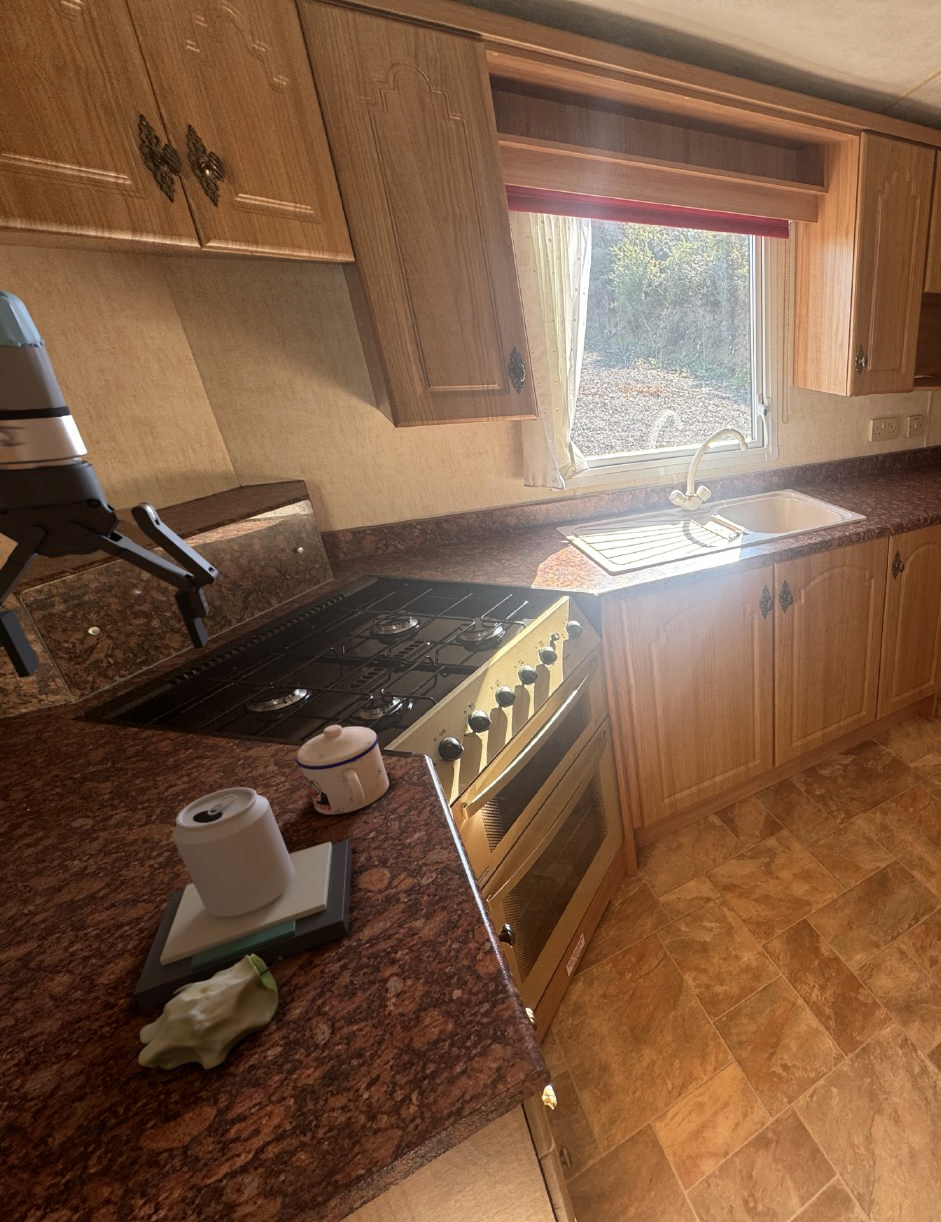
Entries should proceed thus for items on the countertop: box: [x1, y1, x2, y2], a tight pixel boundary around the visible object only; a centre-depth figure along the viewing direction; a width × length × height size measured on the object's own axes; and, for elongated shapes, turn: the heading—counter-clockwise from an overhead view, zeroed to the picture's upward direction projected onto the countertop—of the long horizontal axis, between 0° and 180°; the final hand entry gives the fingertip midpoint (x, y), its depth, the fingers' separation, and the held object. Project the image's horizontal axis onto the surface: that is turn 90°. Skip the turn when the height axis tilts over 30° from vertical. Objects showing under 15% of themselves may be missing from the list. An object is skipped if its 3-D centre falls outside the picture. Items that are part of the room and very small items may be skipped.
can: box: [171, 786, 295, 917], centre depth 67 cm, size 8×8×12 cm
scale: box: [133, 839, 353, 1010], centre depth 69 cm, size 16×14×4 cm
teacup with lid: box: [295, 724, 390, 815], centre depth 86 cm, size 12×9×12 cm
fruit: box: [137, 954, 283, 1071], centre depth 58 cm, size 9×9×8 cm
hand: (120, 657), depth 70 cm, fingers open, 13 cm apart
